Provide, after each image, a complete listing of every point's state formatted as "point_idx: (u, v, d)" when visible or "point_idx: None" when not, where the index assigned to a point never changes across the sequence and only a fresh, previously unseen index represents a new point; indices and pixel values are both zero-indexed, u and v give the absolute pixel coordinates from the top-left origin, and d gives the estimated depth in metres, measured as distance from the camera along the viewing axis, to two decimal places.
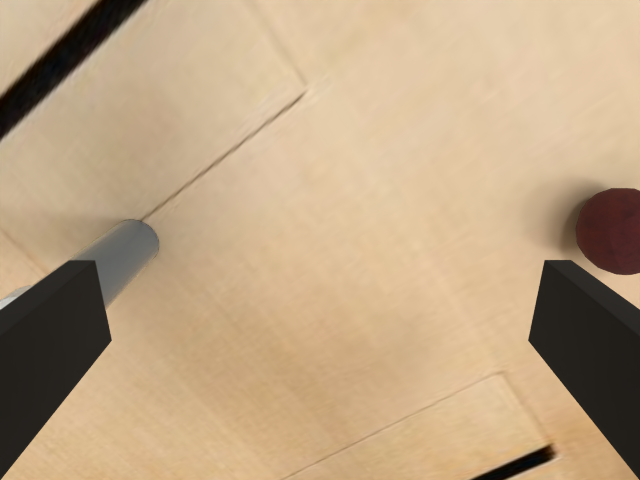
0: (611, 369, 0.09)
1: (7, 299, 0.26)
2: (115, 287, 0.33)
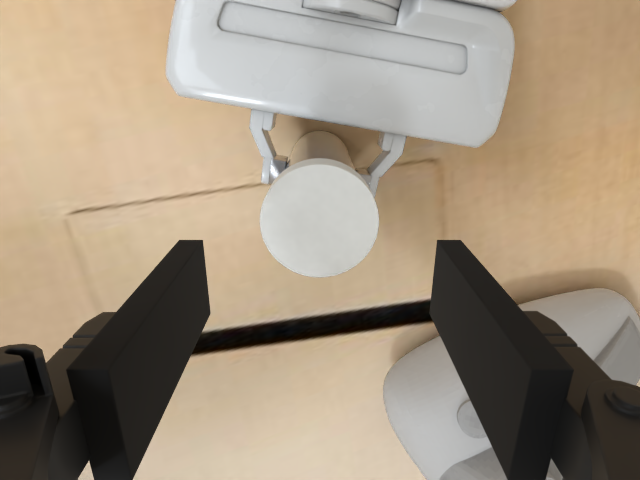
0: (467, 329, 0.11)
1: (308, 275, 0.20)
2: (285, 168, 0.25)
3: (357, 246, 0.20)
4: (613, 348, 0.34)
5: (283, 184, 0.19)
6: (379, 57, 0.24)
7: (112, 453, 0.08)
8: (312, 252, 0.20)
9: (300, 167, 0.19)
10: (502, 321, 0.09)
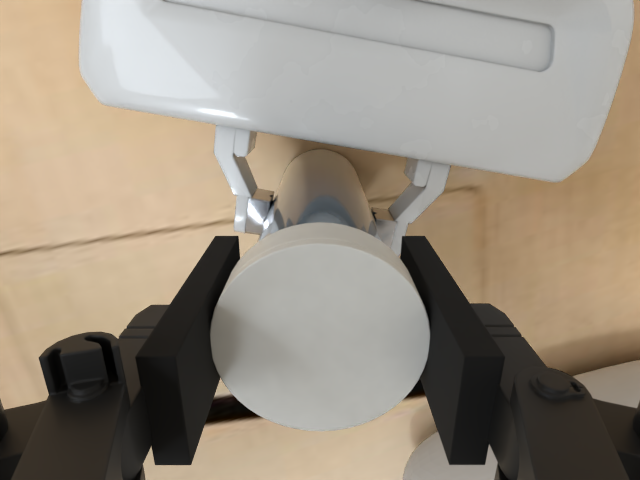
0: None
1: (300, 428, 0.11)
2: (267, 217, 0.16)
3: (388, 383, 0.11)
4: None
5: (251, 279, 0.10)
6: (413, 45, 0.15)
7: (174, 438, 0.09)
8: (307, 392, 0.11)
9: (283, 248, 0.10)
10: (447, 312, 0.09)
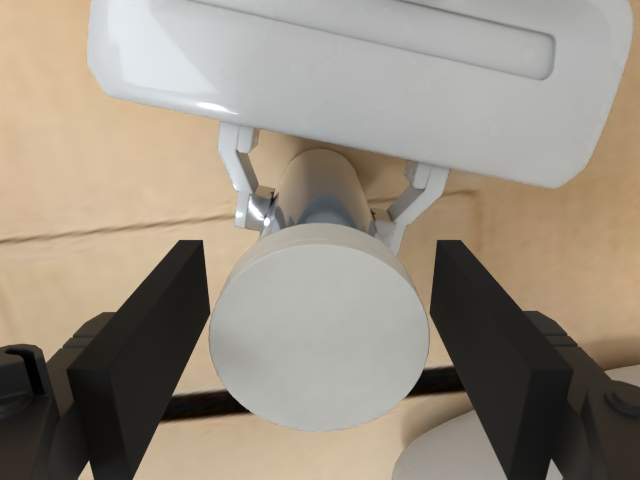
0: (467, 329, 0.11)
1: (419, 372, 0.11)
2: (268, 214, 0.17)
3: (373, 286, 0.10)
4: None
5: (243, 393, 0.11)
6: (418, 49, 0.16)
7: (112, 453, 0.08)
8: (374, 362, 0.11)
9: (215, 365, 0.11)
10: (502, 321, 0.09)
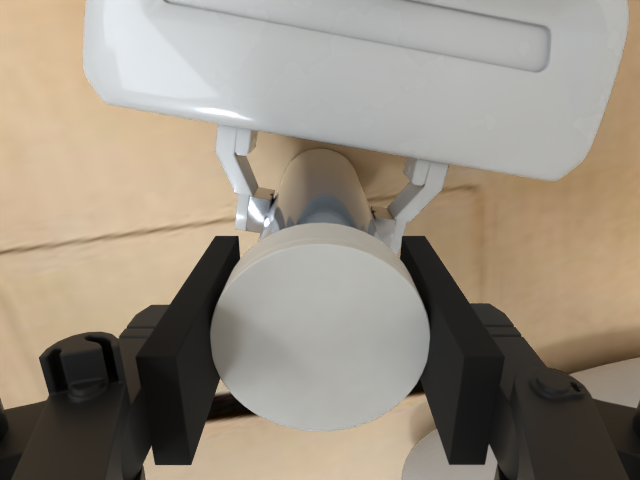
0: None
1: (421, 369, 0.11)
2: (268, 215, 0.17)
3: (371, 285, 0.10)
4: None
5: (246, 395, 0.11)
6: (412, 45, 0.16)
7: (174, 438, 0.09)
8: (376, 360, 0.11)
9: (217, 367, 0.11)
10: (447, 312, 0.09)
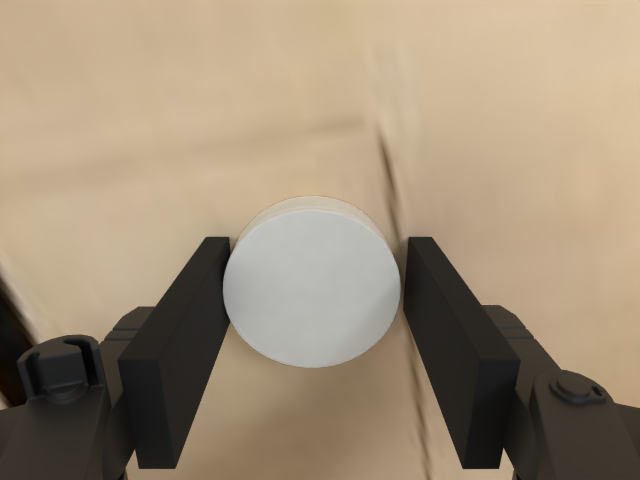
0: (432, 323, 0.11)
1: (394, 313, 0.13)
2: None
3: (352, 243, 0.12)
4: None
5: (252, 337, 0.13)
6: None
7: (157, 441, 0.09)
8: (357, 306, 0.13)
9: (229, 314, 0.13)
10: (459, 314, 0.09)
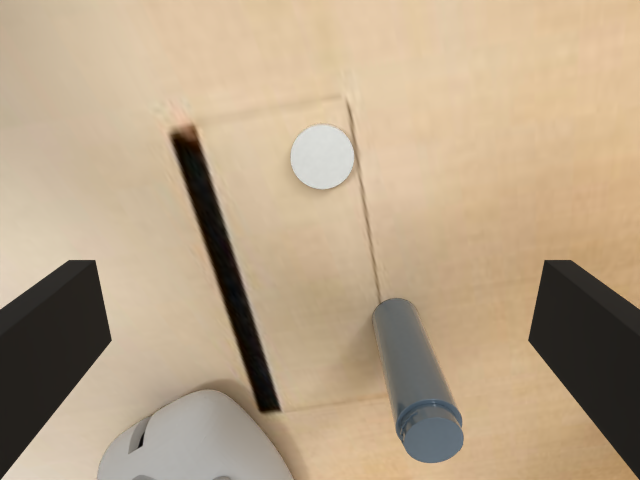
0: (611, 369, 0.09)
1: (352, 165, 0.36)
2: (430, 358, 0.34)
3: (336, 137, 0.36)
4: None
5: (300, 175, 0.37)
6: None
7: None
8: (338, 162, 0.36)
9: (292, 166, 0.37)
10: None
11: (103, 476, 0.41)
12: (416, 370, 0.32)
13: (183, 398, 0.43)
